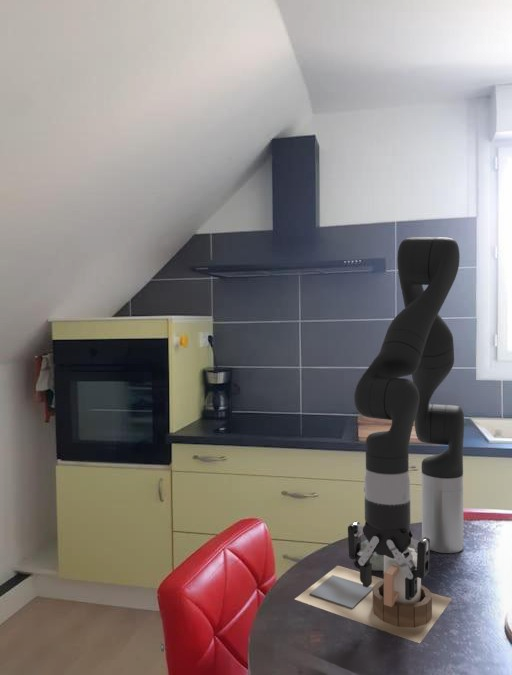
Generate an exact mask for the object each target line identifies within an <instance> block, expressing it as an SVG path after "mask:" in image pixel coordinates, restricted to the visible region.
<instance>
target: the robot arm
mask: <svg viewBox="0 0 512 675" xmlns="http://www.w3.org/2000/svg"><path fill="white" fill-rule="evenodd" d="M396 259H397V261H396V262H397V264H396V265H397V271H398V272H397V273H398V278H399V279H398V280H399V284H400V288H401V294H402V300H403V304H404V305H403V306H404V308H403V309H402V310H401V311H400V312H398V314H397V315H396V316H395V317H394V319H392V321H391V323H390V325H388V328H387V330H386V334H385V336H384V339H383V342H382V345H381V347H380V351H379V353H378V354H377V356H376V357H375V358H374V359H373V360H372V362H371V363H370V365H369V366H368V367H367V369H366V370H365V372H364V373H363V374H362V376H361V377H360V378H359V381H357V382H358V383H357V384H356V387H355V391H354V396H353V400H354V406H355V408H356V411H358V413H359V414H360V415H362V416H363V417H367V418H370V419H371V418H372V419H379V420H387V421H388V420H390V421H391V426H390V428H389V429H388V430H385V431H384V430H383V431H377V432H372V433H369V434H368V436H367V437H366V438H365V475H364V485H363V486H364V487H363V492H364V521H365V522H364V524H362V523H361V522H360V521H357V520H356V521H354V522H351V523H350V524H349V525H348V526H347V540H348V541H347V542H348V543H347V544H348V546H347V547H348V557H349V558H350V559H351V560H355V561H356V562H358V564H359V572H360V581H361V582H362V583H363V587H367V588H368V587H369V586H370V585H371V583H372V576H373V575H372V574H373V570H372V563H371V562H370V559H371V558H372V556H373V555H374V553H375V552H376V553H377V554H378V555H386V556H388V557H389V558H393V559H394V558H395V559H396V561H397V563H398V565H399V566H401V567H402V569H403V571H404V573H405V575H406V578H405V599H406V600H409V601H410V600H411V599H412V598H414V596H415V595H416V594H417V578H421V579H423V578H424V577H425V576H427V574H428V573H429V572H430V553H431V552H430V551H433V552H435V553H441V554H454V553H455V554H456V553H459V552H461V551H463V550H464V464H463V463H464V457H463V456H464V454H463V452H464V435H465V434H464V432H465V415H464V414H465V413H464V411H463V409H462V408H461V406H459V405H453V404H452V405H451V404H434V403H432V404H431V403H430V401H431V398H432V396H433V395H434V393H435V391H436V390H437V389H438V388H439V386H440V385H441V384H442V383H443V382H444V381H445V379H446V378H447V377H448V375H449V374H450V372H451V371H452V369H453V367H454V363H455V350H454V349H455V348H454V346H455V345H454V344H455V343H454V337H453V333H452V332H451V329H450V327H449V326H448V324H447V322H445V321H444V319H443V318H442V317H441V316H440V314H439V313H440V311H441V309H442V307H443V305H444V303H445V301H446V299H447V296H448V294H449V293H450V291H451V289H452V287H453V285H454V282H455V280H456V278H457V275H458V272H459V266H460V259H461V258H460V248H459V245H458V242H457V241H456V240H455V239H454V238H450V237H444V236H443V237H435V236H434V237H426V236H424V237H423V236H422V237H420V236H419V237H407V238H405V239H403V240H402V241H401V242H400V244H399V246H398V249H397V258H396ZM423 285H424V286H427V287H426V288H425V290H424V287H423ZM407 376H411V379H412V380H410V379H408V378H404V377H407ZM413 427H414V431H415V435H416V437H417V439H418V441H419V442H421V443H424V444H429V445H430V444H431V445H432V444H433V445H441V446H442V445H443V446H444V445H445V446H448V448H447V449H446V450H445V451H443V452H440V453H438V454H434V455H431V456H427V457H425V458H424V459H423V460H422V461H421V537H417V536H415V535H414V536H413V533H412V530H411V480H410V472H409V448H410V440H411V435H412V430H413ZM363 534H364V537H365V538H366V539H367V540H368V542H369V544H368V546H367V547H366V549H365V550H364V552H361V543H362V538H361V536H363ZM410 544H412V545H413V546H414V549H415V551H416V552H417V566H416V565H415V563H414V561H413V556H412V554H411V552H410V550H409V548H408V546H409V545H410ZM402 553H403V555H402Z"/></svg>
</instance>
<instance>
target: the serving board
mask: <svg viewBox="0 0 512 675" xmlns="http://www.w3.org/2000/svg"><path fill="white" fill-rule="evenodd" d="M452 600H453V598H450V597H447V596H443V595H442V594H441V595H440V594H436V593H434V592H431V591H430V590H429V589H428V588H427V587H426V586H424V585H423V584H421V602H418V603H414V604H399V603H394V605H393V606H392V607H390V606H387V605H384V578H382V577H378V576H375V575H372V583H371V585H370V586H369V587H368V588H367V587H363V583H362V582H361V581H360V571H357V570H354V569H352V568H347V567H344V566H341V565H336V566H335V567H334V568H333V569H331V570H330V571H329V572H327V573H326V574H325V575H324V576H322V577H321V578H319V580H317V581H316V582H315V583H313V584H312V585H311V586H310V587H308V588H307V589H306V590H305V591H303V592H301V594H299V595H298V596H296V597H295V598H294V601H297V602H300V603H303V604H306V605H309V606H312V607H315V608H316V609H321V610H324V611H326V612H329V613H332V614H334V615H337V616H340V617H343V618H346V619H348V620H352V621H353V622H357V623H360V624H364V625H365V626H368V627H371V628H375V629H378V630H380V631H382V632H385V633H388V634H391V635H394V636H396V637H400V638H403V639H406V640H408V641H411V642H414V643H417V644H419V645H420V644H421V642H422V641H423V640H424V639H425V637H426V636H427V634H428V633H429V632H430V630H431V629H432V628H433V626H434V625H435V624H436V622H437V621H438V619H439V618H440V617H441V615H442V614H443V613H444V611H445V610H446V608H447V607H448V606H449V604H450V603H451V602H452Z"/></svg>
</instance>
